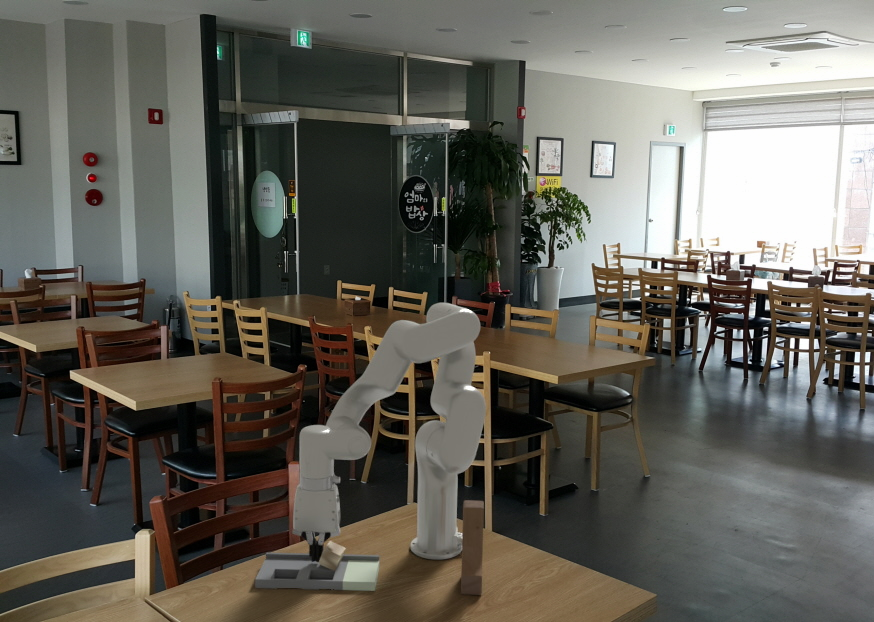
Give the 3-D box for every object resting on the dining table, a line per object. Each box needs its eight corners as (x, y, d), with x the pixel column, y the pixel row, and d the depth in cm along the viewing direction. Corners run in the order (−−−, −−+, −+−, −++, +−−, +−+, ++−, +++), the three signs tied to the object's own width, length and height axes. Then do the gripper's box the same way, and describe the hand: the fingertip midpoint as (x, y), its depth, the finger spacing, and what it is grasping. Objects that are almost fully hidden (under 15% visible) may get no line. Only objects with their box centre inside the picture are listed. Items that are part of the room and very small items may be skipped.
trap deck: (379, 567, 184) (379, 555, 183) (374, 590, 173) (375, 577, 172) (266, 564, 184) (266, 552, 183) (255, 587, 173) (255, 574, 173)
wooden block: (481, 595, 171) (483, 516, 169) (460, 595, 172) (462, 515, 169) (481, 576, 180) (483, 500, 178) (461, 575, 181) (463, 499, 178)
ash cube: (340, 563, 181) (345, 548, 180) (334, 571, 177) (340, 555, 176) (324, 555, 182) (330, 540, 181) (318, 563, 178) (324, 548, 177)
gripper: (352, 476, 181) (351, 553, 184) (286, 474, 181) (286, 551, 184) (347, 488, 174) (347, 568, 176) (279, 486, 174) (279, 565, 177)
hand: (316, 559), depth 180 cm, fingers closed
